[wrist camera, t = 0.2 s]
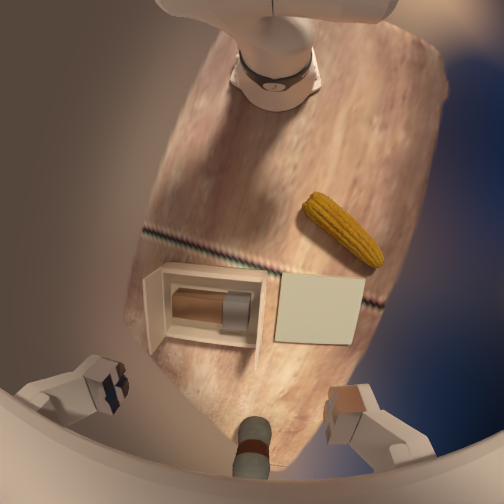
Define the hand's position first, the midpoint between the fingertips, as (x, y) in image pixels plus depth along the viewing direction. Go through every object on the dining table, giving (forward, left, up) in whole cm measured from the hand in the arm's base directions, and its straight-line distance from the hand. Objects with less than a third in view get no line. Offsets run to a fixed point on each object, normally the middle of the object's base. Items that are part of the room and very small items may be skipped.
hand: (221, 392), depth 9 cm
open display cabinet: (+17, -10, -47) cm, 51 cm away
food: (-1, +16, -48) cm, 51 cm away
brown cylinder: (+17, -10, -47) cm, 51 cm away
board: (+17, +13, -47) cm, 52 cm away
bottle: (+56, +2, -48) cm, 73 cm away
